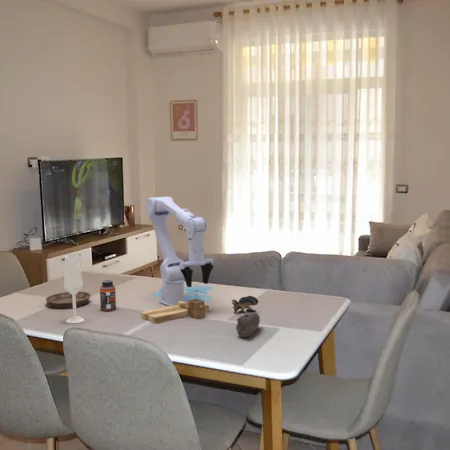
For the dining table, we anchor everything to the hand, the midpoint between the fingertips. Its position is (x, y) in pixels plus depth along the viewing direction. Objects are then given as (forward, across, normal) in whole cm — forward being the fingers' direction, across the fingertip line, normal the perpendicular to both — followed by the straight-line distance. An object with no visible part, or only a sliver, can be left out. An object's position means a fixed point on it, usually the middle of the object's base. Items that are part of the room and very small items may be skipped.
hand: (197, 285), depth 212 cm
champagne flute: (+10, -40, +21) cm, 46 cm away
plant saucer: (+10, -32, +45) cm, 56 cm away
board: (+10, -8, +3) cm, 14 cm away
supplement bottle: (+10, -24, +26) cm, 37 cm away
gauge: (+10, -4, -1) cm, 11 cm away
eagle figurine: (+11, +13, -12) cm, 21 cm away
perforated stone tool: (+11, -2, -32) cm, 34 cm away
